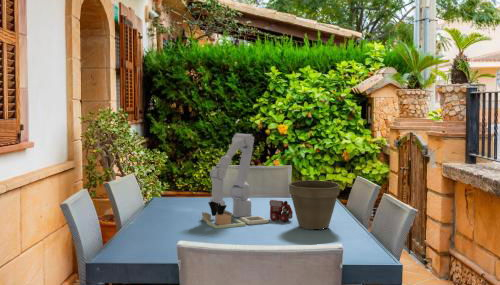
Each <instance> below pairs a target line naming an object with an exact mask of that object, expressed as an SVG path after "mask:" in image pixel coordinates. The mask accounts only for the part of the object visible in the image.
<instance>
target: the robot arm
mask: <svg viewBox="0 0 500 285" xmlns="http://www.w3.org/2000/svg"><path fill="white" fill-rule="evenodd" d="M254 143H255V138H254V137H253V135H252V134H250V133H239V132H237V133H234V134H233V137H232V138H231V144H230V146H229V148H228V150H227V151H226V154H225V155H222V156H221V157H220V159H219V161H218V162H217V164H216V165H215V166H214V167H212V168H211V169H210V172H209V177H210V179H211V181H210V182H212V183H211V196H210V197H209V201H208V205H209V208H210V212H211V217H212V216H213V217H215V215H220V214H223V213H224V210H226V208H227V204H226V201H225V200H224V179H225V178H226V176H227V171H228V169H229V167H230V166H231V164H232V158H233V157H234V155H235V154H236V153H237V152H238V151H239V150H240V151H241V157H240V161H239V165H238V166H239V167H238V172H237V177H236V180H235V181H234V182H233V183H232V185H231V187H230V190H229V194H230V196H231V199H232V212H231V213H232V217H234V218H240V217H252V202H251V199H250V198H249V197H250V195H251V194H250V193H251V190H250V189H251V186H250V185H249V183H248V182H247V181H248V177H249V172H250V165H251V161H252V155H253V148H254Z"/></svg>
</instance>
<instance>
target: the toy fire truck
mask: <svg viewBox="0 0 500 285" xmlns="http://www.w3.org/2000/svg"><path fill="white" fill-rule="evenodd" d="M288 203H289V202H288V201H287V200H285V201H283V200H276V199H270V200H269V206H270V207H269V208H270V209H269V219H270V220H271V221H272V220H273V221H272V222H275V221H277V220H279V221H280V222H282V221H284V222H283V223H285V222H287V221H288V220H291V219H293V213H294V212H293V209H292V207H291V205H290V204H288Z"/></svg>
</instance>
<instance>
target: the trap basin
mask: <svg viewBox="0 0 500 285" xmlns="http://www.w3.org/2000/svg"><path fill="white" fill-rule="evenodd" d="M239 221H241V222H244V223H246V225H249V226H252V225H262V224H264V223H265V224H269V219H267V218H266V217H263V216H260V215H253V216H245V217H239Z"/></svg>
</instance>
